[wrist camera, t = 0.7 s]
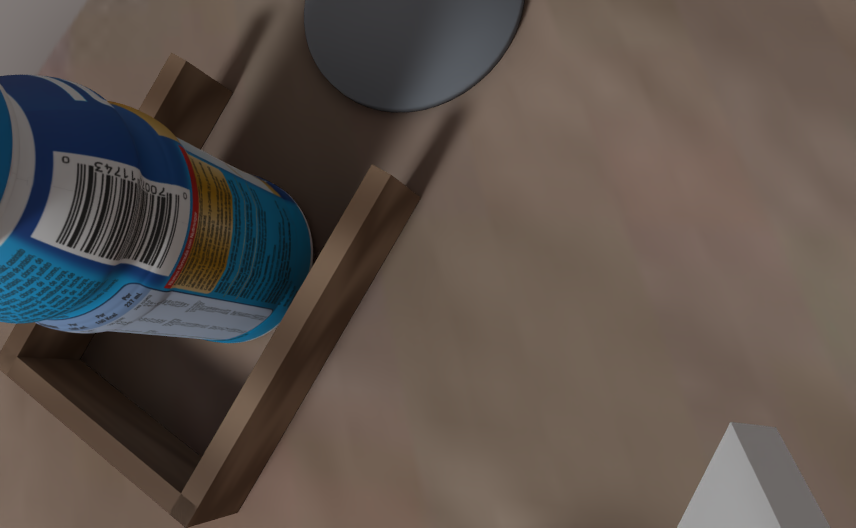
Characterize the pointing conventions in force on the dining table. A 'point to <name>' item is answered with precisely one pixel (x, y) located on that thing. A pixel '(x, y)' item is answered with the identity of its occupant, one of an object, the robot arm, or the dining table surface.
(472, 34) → the slate mat
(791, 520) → the robot arm
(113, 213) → the beverage bottle
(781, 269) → the dining table surface
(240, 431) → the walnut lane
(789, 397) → the dining table surface
